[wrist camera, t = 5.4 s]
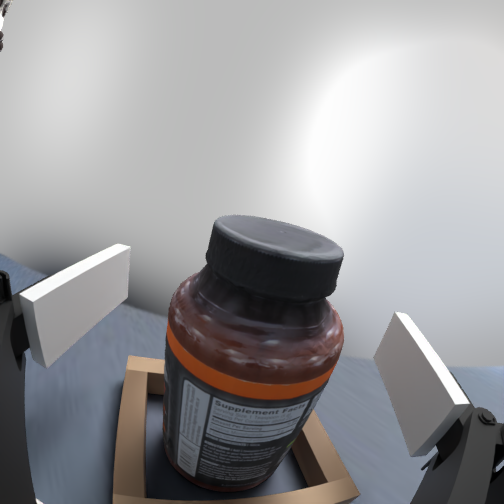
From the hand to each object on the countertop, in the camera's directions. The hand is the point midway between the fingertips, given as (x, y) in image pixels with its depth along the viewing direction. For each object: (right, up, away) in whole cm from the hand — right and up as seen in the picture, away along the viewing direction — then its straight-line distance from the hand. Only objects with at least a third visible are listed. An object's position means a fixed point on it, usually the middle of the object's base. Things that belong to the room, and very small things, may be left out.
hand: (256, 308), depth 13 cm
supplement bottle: (-2, -8, -1) cm, 8 cm away
